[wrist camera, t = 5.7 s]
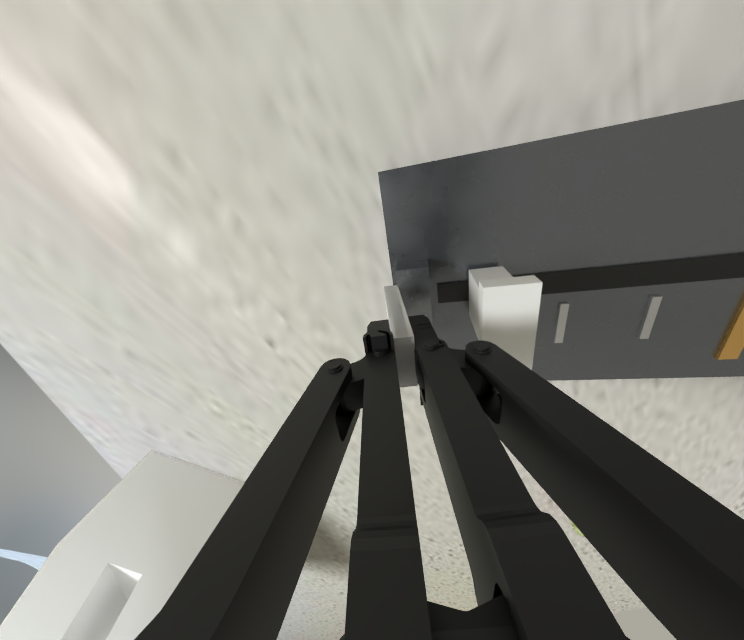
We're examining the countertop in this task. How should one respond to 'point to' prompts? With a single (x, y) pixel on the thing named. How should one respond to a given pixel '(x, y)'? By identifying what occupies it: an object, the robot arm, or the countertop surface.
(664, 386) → the countertop surface
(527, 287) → the fader
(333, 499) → the countertop surface
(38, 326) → the countertop surface
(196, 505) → the white toy house
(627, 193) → the console
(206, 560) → the robot arm
